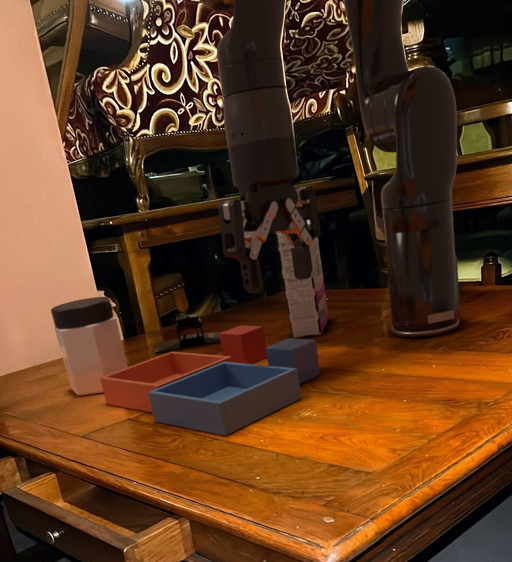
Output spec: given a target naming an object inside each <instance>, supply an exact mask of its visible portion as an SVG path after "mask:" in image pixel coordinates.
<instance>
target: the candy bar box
mask: <svg viewBox="0 0 512 562" xmlns="http://www.w3.org/2000/svg"><path fill="white" fill-rule="evenodd" d="M307 224H308V228H311V225H310V219H307ZM275 235H276V236H275V237H276V242H277V248H278V253H279V260H280V267H281V273H282V280H283V285H284V290H285V297H286V304H287V305H286V306H287V310H288V317H289V323H290V324H289V325H290V331H291V337H292V339H304V338H310V337H311V338H312V337H317V336H322V335H323V333H324V330H325V328H326V326H327V324H328V321H329V319H330V316H329V308H328V301H327V296H326V287H325V280H324V272H323V266H322V265H323V264H322V258H321V251H320V245H319V237H318V238H315V239H313V240H312V243H311V245H310V255H311V264H312V270H311V277H309V278H306V279H297V278H295V276H294V268H293V260H292V252H291V248H294V246H293V245H292V244H291V243H290V241H289V240H288V239H287V237H286V236H285V235H284V234H281V233H280V232H279V231H277V232H275Z"/></svg>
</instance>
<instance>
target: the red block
mask: <svg viewBox="0 0 512 562" xmlns="http://www.w3.org/2000/svg"><path fill="white" fill-rule="evenodd" d="M223 331H224V332H222V331H221V332H222V333H219V336H220V341H221V343H220V346H221V352H222V356H229V357H231V358H232V362H234V363H244V364H254V363H256V362H258V361H260V360H263V359H265V358H266V359H267V354H266V348H267V344H266V339H265V332H264V326H263V325H238V326H236V327H233V328H230V329H228V330H223Z"/></svg>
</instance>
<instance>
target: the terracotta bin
mask: <svg viewBox="0 0 512 562" xmlns="http://www.w3.org/2000/svg"><path fill="white" fill-rule="evenodd" d="M222 362H232V358H231V357H229V356H223V355H216V354H206V353H192V352H181V351H171V352H166V353H163V354H162V355H159V356H156V357H153V358H151V359H147V360H145V361H142V362H140V363H137V364H134V365H131V366H127V367H128V368H126V369H123V370H120V371H118V372H115V373H112V374H109V375H107V376H104V377H101V378H100V380H101V384H102V388H103V395H104V400H105V403H106V405H110V406H114V407H115V406H116V407H119V408H125V409H126V408H127V409H130V410H137V411H142V412H148V413H151V414H153V412H152V407H151V403H150V398H149V394H148V392H150V391H153V390H155V389H158V388H160V387H163V386H165V385H168V384H170V383H173V382H175V381H178V380H180V379H183V378H185V377H187V376H190V375H192V374H195V373H197V372H200V371H202V370H205V369H207V368H210V367H212V366H215V365H217V364H220V363H222Z"/></svg>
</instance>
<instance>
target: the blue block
mask: <svg viewBox="0 0 512 562" xmlns="http://www.w3.org/2000/svg"><path fill="white" fill-rule="evenodd" d="M266 354H267V357H266V360H267V366H276V367H287V368H297V371H298V378H299V385H301V384H303V383H305V382H308V381H309V380H311V379H314V378H316V377H318V376H320V375H321V370H320V369H321V368H320V362H319V361H320V360H319V354H318V346H317V340H316V339H308V338H306V339H305V338H287V339H284V340H282V341H280V342H276V343H275V344H272V345H270V346H266Z"/></svg>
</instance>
